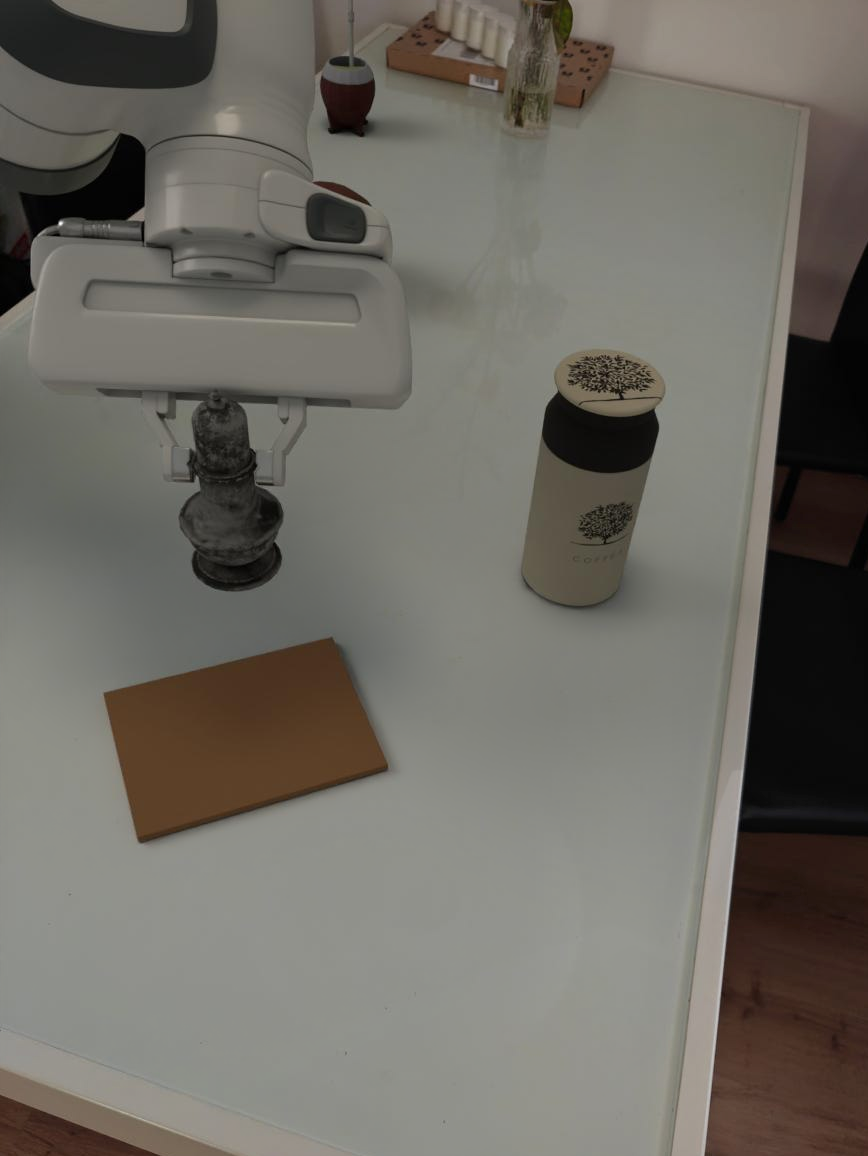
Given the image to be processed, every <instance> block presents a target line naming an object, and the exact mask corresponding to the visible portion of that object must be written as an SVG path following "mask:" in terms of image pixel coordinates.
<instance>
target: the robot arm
mask: <svg viewBox="0 0 868 1156" xmlns="http://www.w3.org/2000/svg"><path fill="white" fill-rule="evenodd" d="M314 17H315V15H314V4H313V0H0V186H2V187H5V188H8V189H10V190H13V191H17V192H19V193H23V194H24V193H25V194H30V195H38V196H57V195H62V194H67V193H72V192H75V191H77V190H79V189H82V188H83V187H86V186H87V185H90V183H92V182H94V181H95V180H96V179H97V178H98V177H99V176H100V175H101V174H102V173H103V172H104V171H105V170H106V168H107V167H108V166H109V163H110V162H111V160H112V158H113V155H114V153H115V150H116V147H117V145H118V143H119V140H120V139H121V136H122V134H124V135H127V136H132V137H133V138H135V139H136V140H138V141H139V142H140V144H141V145H142V146H143V148H144V151H145V155H144V156H145V158H144V159H145V163H144V164H145V165H144V166H145V168H144V220H126V219H124V220H123V219H105V220H103V219H102V220H92V219H86V218H83V217H75V216H70V217H62V218H60V219H59V220H58V223H57V224H53V225H50V226H47V227H46V228H44V229H42V230H41V231H40V232H39V233H38V234H37V235H36V236H35V237H34V238H33V241H32V243H31V245H30V246H31V247H30V281H31V285H32V287H33V289H34V291H35V293H34V298H33V305H32V311H31V316H30V325H29V333H28V334H29V335H28V347H27V363H28V364H27V365H28V367H29V370H30V371H31V372H32V374H33V375H34V377H35V378H36V379H37V380H38V381H39V383H40V384H41V385H43V386H44V387H45V388H47V390H50V391H51V392H54V393H56V394H57V395H60V396H70V397H71V396H72V397H92V398H93V397H96V398H117V399H138V400H139V399H140V400H141V414H142V416H143V418H144V419H145V422H146V423H147V425H148V427H149V429H150V430H151V433H152V434H153V436H154V437H155V439H156V441H157V443H158V444H159V446H160V447H161V448H162V464H161V465H162V467H161V469H162V471H161V473H162V480H163V481H165V482H167V483H177V484H178V483H179V484H180V483H181V484H195V483H196V479H197V476H196V475H195V474H194V472H193V471H192V469H191V461H192V457H193V455H194V454H195V453H196V450H194V449H193V448H192V447H189V446H188V447H186V446H185V447H184V446H180V445H179V444H178V442H177V440H176V438H175V436H174V434H173V432H172V430H171V428H170V426H169V425H168V423H167V421H166V420H168V421H169V420H170V421H174V420H175V419H176V418H177V401H182V402H183V401H184V402H185V401H188V402H204V401H206V400H209V399H211V398H210V394H211V393H212V391H214V389H217V390H218V391H220V392H221V393H222V394H223V398H226V399H231V400H233V401H235V402H237V403H238V404H253V405H254V404H255V405H275V406H276V405H277V418H278V419H279V420H280V422H281V424H282V425H284V427H283V428H282V430H281V431H280V433H279V435H278V437H277V438H276V440H275V442H274V444H273V445H272V447H271V449H270V450H268V449H267V450H266V449H265V450H264V449H263V450H261V449H260V450H259V449H255V452H256V458H255V462H256V464H257V465H258V467H257V468H256V470H255V471H254V477H255V485H257V486H260V487H261V486H262V487H263V486H264V487H285V486H286V473H287V472H286V470H287V468H286V467H287V456H289V455H290V453H291V451H292V450H293V448H294V447H295V445H296V444H297V442H298V441H299V439H300V437H301V435H302V434H303V432H304V430H305V429H306V427H307V422H308V421H307V415H308V412H307V411H308V407H320V408H321V407H323V408H324V407H325V408H342V409H343V408H344V409H369V410H389V411H391V410H393V411H395V410H398V409H400V408H401V407H402V406H403V405H404V404H405V403H406V402H407V401H408V399H409V398H410V397H411V396H412V393H413V351H412V349H413V348H412V336H411V327H410V318H409V312H408V305H407V299H406V294H405V291H404V287H403V283H402V282H401V279H400V277H399V275H398V274H397V272H396V271H395V270H394V268H393V267H391V265H392V261H393V259H392V258H393V249H394V246H393V245H394V243H393V242H394V241H393V235H392V230H391V226H390V223H389V220H388V218H387V216H386V214H385V213H384V212H382V211H381V210H379V209H378V208H376V207H373V206H372V205H371V206H372V207H371V206H369V205H366V204H364V203H361V202H358V201H356V200H353V199H350V198H348V197H345V196H342V195H340V194H337V193H335V192H332V191H330V190H327V189H325V188H322V187H320V186H318V185H315V184H313V182H314V167H313V163H312V159H311V155H310V151H309V147H308V127H309V126H308V125H309V122H310V119H311V116H312V113H313V110H314V105H315V100H316V40H315V39H316V35H315V34H316V33H315V18H314ZM54 234H59V236H53V235H54Z"/></svg>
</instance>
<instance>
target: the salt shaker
mask: <svg viewBox="0 0 868 1156" xmlns="http://www.w3.org/2000/svg"><path fill="white" fill-rule="evenodd" d="M210 398H211V399H209V400H206V401H201V402H200V403H199V404H198V405H197V407H195V409H194V410H193V412H192V414H191V429H192V434H193V440H194V441H193V442H194V447H195V452H196V453H195V454H194V455H193V457H192V461H191V469H192V471H193V472H194V474H195V475H196V477H197V478H198V484H199V491H197V492H195V493H193V494H192V495H191V496H190V497H189V498H188V499H186V500H185V502H184V503H183V505H182V506H181V507H180V509H179V514H178V525H179V529H180V531H181V532H182V534H183V535H184V536H185V537H186V539H188V541H189V542H190V544H191V545H192V547H193V548H194V549H195V550H194V551H193V553H192V558H191V561H190V562H191V568H192V572H193V574H194V575H195V577H196V579H198V581H200V582H201V583H203V584H204V585H205V586H207V587H210V588H211V589H214V590H217V591H220V592H221V591H223V592H228V593H231V592H232V593H234V592H235V593H240V592H246V591H251V590H254V589H257V588H261V587H262V586H264V585H265V584H267V583H269V582H270V581H272V579H273V578H275V576H276V575H278V573H279V571H280V569H281V567H282V562H283V556H282V555H283V554H282V551H281V548H280V547H279V545H278V544H277V543H276V539H277V537H278V534H279V530H280V528H281V527H282V525H283V522H284V515H285V512H284V509H283V505H282V503H281V502H280V500H279V499H278V498H277V496H275V495H274V494H273V493H272V492H271V491H269V490H268V489H266V488H263V487H261V486H259V485H257V484H256V481H255V470H256V469H257V468H258V465H257V464H256V462H255V458H256V450H255V449H253V448H252V447H251V443H250V442H251V441H250V434H249V423H248V417H247V413H246V410H245V409H244V407H243V406H242V405H241V404H240V403H237V402H235V401H233V400H231V399H226V398H223V394H222V393H221V392H220V391H218V390H217V389H214V391H212V393H211V394H210Z"/></svg>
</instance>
